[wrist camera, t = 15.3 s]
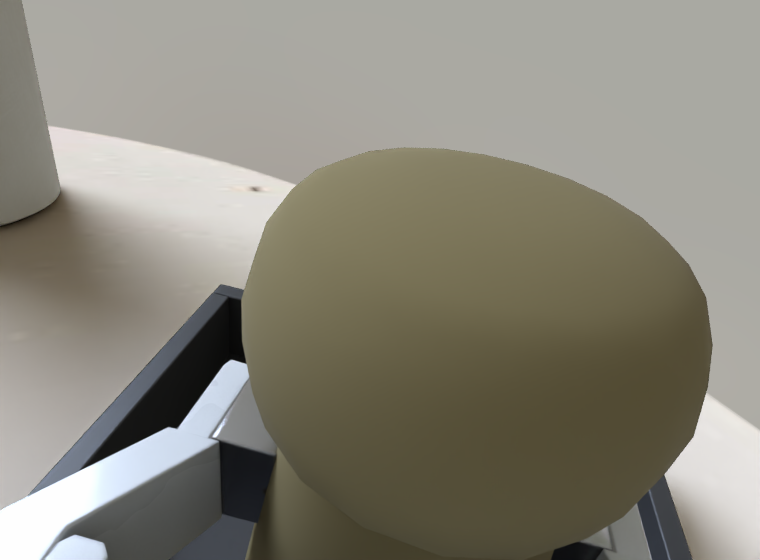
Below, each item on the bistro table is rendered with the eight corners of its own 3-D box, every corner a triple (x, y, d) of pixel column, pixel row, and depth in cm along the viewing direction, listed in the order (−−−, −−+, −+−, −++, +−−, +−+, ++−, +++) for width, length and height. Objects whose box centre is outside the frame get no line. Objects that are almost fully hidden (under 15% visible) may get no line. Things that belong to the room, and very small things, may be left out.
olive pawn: (520, 591, 13) (766, 187, 7) (447, 951, 8) (1079, 636, 2) (315, 482, 14) (368, 83, 8) (150, 723, 9) (7, 185, 4)
